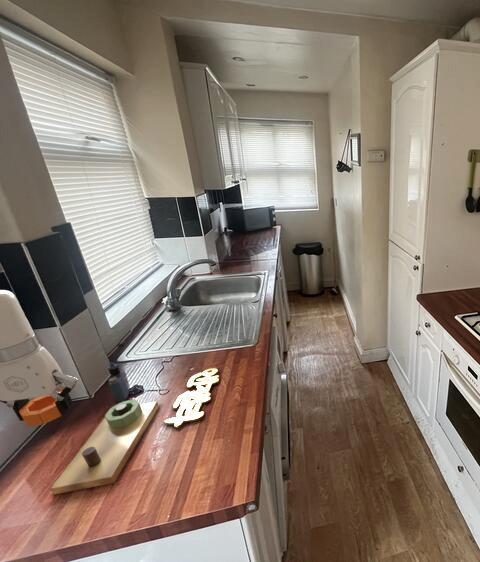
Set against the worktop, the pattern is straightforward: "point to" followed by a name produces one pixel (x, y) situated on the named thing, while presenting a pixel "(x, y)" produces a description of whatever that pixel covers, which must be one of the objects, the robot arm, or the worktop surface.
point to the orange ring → (40, 411)
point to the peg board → (104, 452)
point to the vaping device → (117, 383)
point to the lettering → (194, 398)
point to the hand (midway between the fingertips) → (48, 412)
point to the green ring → (124, 419)
